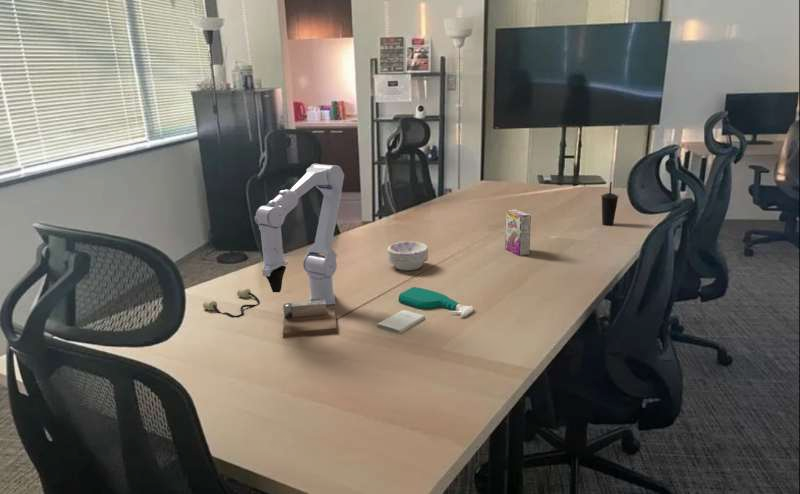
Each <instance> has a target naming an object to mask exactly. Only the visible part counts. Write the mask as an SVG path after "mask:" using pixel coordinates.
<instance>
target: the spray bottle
mask: <svg viewBox="0 0 800 494" xmlns="http://www.w3.org/2000/svg"><path fill="white" fill-rule="evenodd" d="M398 302H399V303H401V304H404V305H406V306H409V307H413V308H417V309H421V310H427V309H428V310H430V309H435V308H444V309H448V310H449V314H450V313H452V314H458V315H459V317H460V318H464V317H467V316H468V315H469V314H471V313H473V312H474V307H473V305H463V304H460V303H459V302H457V301H456V300H454V299H452V298H450V297H449V296H447V295H446V294H443V293H440V292H438V291H433V290H431V289H425V288H423V287H417V286H412V287H410V288H408V289H407V290H404V291H402V292H400V294H399V295H398Z"/></svg>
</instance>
